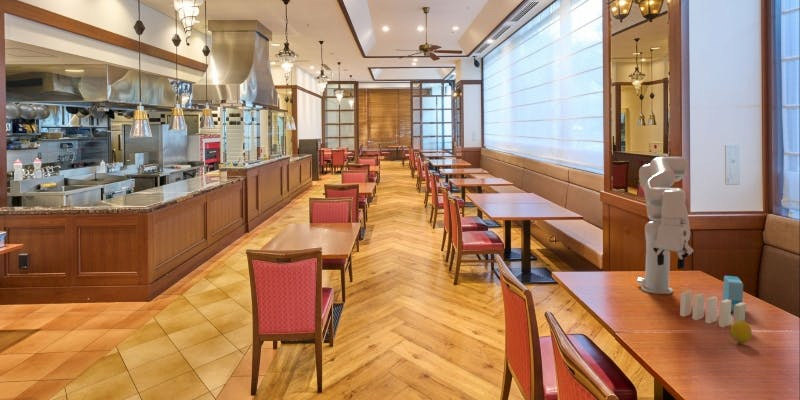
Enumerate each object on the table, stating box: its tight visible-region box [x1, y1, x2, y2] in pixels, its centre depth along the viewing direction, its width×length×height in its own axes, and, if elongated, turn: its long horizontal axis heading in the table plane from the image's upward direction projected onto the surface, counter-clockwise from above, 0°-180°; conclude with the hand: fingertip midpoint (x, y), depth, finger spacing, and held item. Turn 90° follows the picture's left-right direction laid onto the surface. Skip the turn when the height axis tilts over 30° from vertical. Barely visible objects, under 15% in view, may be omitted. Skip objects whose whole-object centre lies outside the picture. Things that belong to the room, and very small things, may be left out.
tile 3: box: [704, 295, 718, 324], centre depth 178 cm, size 2×5×9 cm, turn 124°
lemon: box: [730, 320, 752, 345], centre depth 158 cm, size 6×6×8 cm
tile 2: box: [691, 292, 706, 321], centre depth 182 cm, size 2×5×9 cm, turn 124°
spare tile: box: [732, 301, 747, 325], centre depth 171 cm, size 2×5×9 cm, turn 124°
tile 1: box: [679, 290, 693, 318], centre depth 186 cm, size 2×5×9 cm, turn 124°
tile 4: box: [718, 299, 732, 328], centre depth 174 cm, size 2×5×9 cm, turn 124°
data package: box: [722, 275, 744, 313], centre depth 192 cm, size 12×4×12 cm, turn 155°
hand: (670, 266), depth 189 cm, fingers open, 6 cm apart
